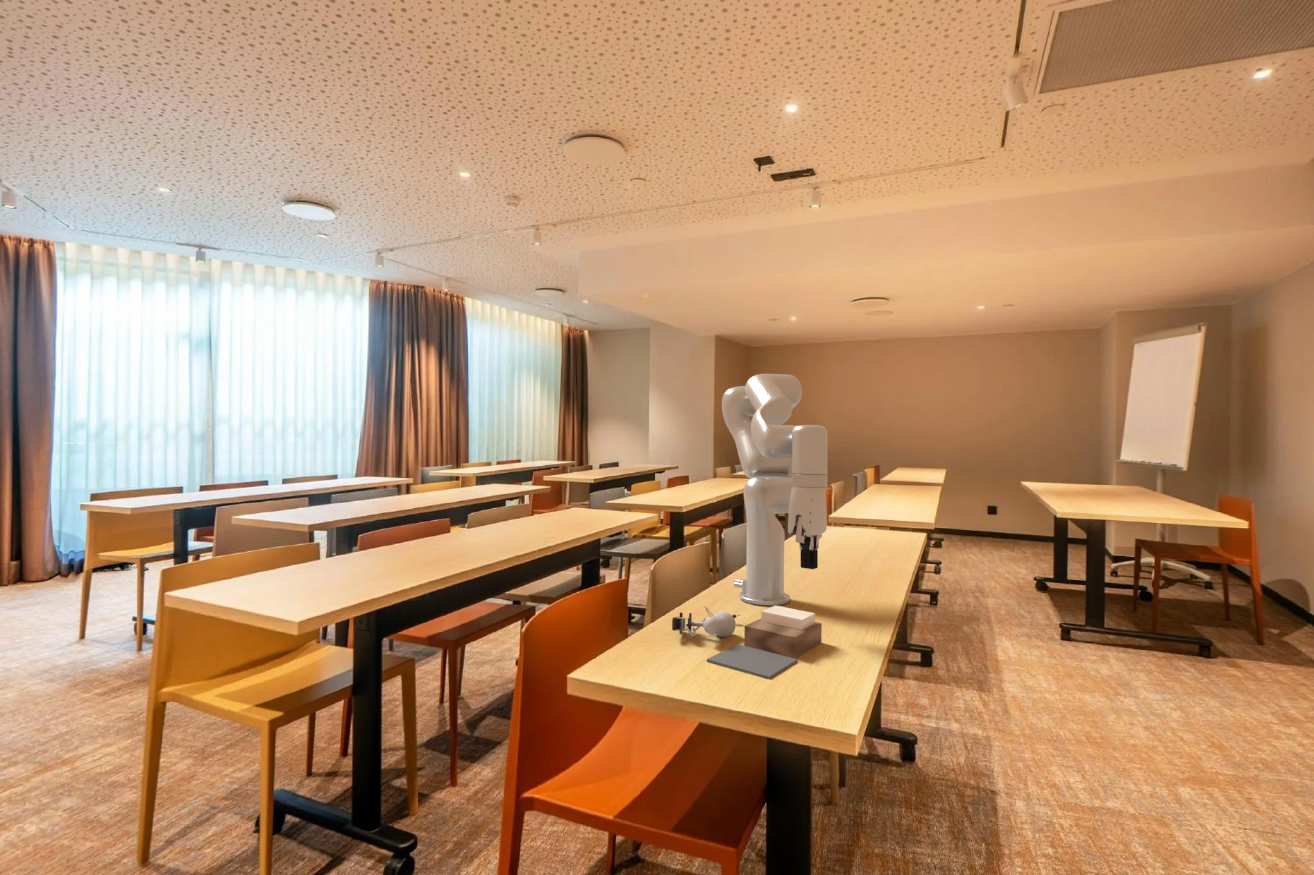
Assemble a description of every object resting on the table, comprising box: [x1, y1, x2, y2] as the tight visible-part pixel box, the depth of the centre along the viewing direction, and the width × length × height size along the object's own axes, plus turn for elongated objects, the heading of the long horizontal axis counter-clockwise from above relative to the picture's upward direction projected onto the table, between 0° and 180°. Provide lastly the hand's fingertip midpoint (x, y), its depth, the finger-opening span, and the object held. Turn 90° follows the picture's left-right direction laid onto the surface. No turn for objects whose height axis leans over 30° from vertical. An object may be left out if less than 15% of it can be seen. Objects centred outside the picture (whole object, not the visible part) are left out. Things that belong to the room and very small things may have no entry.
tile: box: [760, 605, 816, 630], centre depth 128 cm, size 9×6×2 cm, turn 52°
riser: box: [743, 618, 823, 659], centre depth 127 cm, size 11×12×4 cm
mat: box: [706, 643, 798, 680], centre depth 117 cm, size 13×11×1 cm
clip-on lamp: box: [671, 604, 740, 638], centre depth 133 cm, size 12×6×18 cm
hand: (809, 567), depth 134 cm, fingers closed
